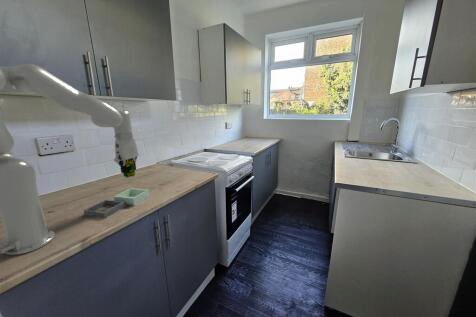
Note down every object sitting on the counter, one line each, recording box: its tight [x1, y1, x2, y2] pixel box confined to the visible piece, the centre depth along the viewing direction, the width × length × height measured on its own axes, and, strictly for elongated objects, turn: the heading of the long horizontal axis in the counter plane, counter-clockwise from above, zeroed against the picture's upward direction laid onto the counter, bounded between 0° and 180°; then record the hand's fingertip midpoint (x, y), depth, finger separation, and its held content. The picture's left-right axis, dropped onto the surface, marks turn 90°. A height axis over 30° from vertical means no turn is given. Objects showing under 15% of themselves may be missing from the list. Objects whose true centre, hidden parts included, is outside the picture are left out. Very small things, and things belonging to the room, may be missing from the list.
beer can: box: [122, 158, 136, 179], centre depth 101 cm, size 5×5×12 cm
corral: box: [83, 199, 126, 219], centre depth 94 cm, size 12×12×2 cm
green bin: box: [113, 187, 151, 207], centre depth 105 cm, size 12×12×4 cm
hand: (128, 170), depth 101 cm, fingers closed on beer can, 5 cm apart
